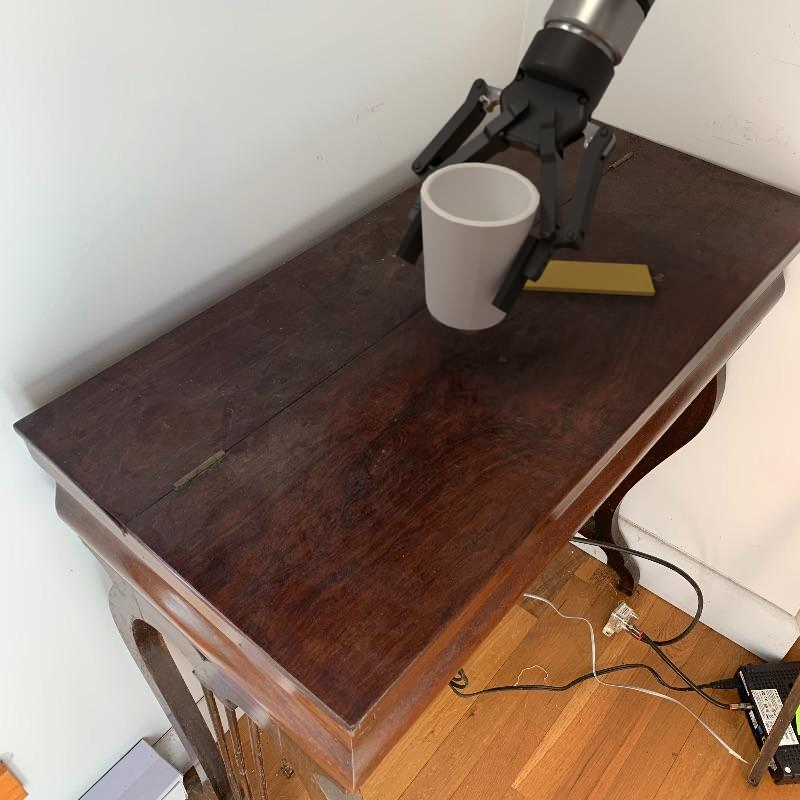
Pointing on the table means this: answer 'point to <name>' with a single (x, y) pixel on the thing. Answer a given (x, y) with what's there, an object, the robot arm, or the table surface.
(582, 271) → the yellow plank
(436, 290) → the cup
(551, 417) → the table surface
